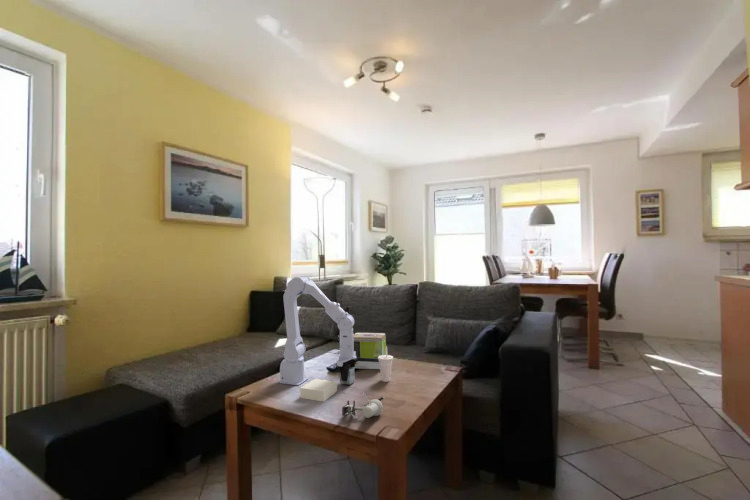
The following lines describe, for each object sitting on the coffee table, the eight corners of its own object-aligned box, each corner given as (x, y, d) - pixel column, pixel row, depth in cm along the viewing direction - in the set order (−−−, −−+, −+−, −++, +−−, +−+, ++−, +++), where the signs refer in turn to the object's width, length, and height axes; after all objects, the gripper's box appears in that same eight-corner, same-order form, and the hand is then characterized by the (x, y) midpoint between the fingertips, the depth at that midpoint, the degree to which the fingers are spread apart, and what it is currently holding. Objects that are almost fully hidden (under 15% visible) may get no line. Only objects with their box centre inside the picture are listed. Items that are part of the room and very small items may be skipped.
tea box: (386, 363, 168) (386, 332, 168) (382, 370, 158) (381, 337, 158) (356, 361, 171) (356, 331, 171) (350, 368, 161) (350, 336, 161)
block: (339, 383, 142) (339, 369, 142) (344, 379, 146) (344, 366, 146) (350, 384, 140) (350, 370, 140) (354, 380, 145) (354, 367, 145)
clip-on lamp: (360, 409, 127) (338, 420, 110) (360, 390, 128) (338, 398, 112) (391, 410, 123) (373, 422, 106) (390, 391, 124) (373, 400, 108)
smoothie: (392, 383, 142) (391, 349, 142) (376, 382, 144) (376, 348, 144) (394, 377, 149) (393, 344, 149) (379, 376, 150) (379, 344, 150)
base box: (300, 398, 130) (300, 387, 130) (314, 388, 139) (314, 378, 139) (323, 402, 126) (323, 391, 126) (337, 392, 136) (336, 381, 136)
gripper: (348, 350, 135) (349, 386, 135) (362, 341, 149) (362, 373, 149) (332, 349, 137) (332, 384, 137) (347, 340, 151) (347, 371, 151)
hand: (347, 378), depth 143 cm, fingers closed on block, 5 cm apart
